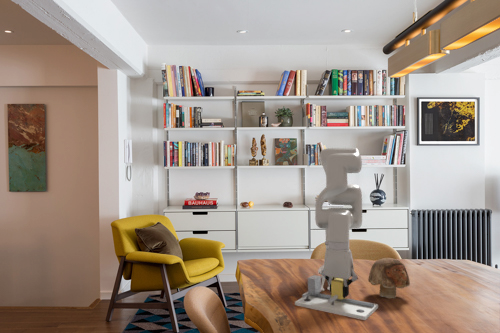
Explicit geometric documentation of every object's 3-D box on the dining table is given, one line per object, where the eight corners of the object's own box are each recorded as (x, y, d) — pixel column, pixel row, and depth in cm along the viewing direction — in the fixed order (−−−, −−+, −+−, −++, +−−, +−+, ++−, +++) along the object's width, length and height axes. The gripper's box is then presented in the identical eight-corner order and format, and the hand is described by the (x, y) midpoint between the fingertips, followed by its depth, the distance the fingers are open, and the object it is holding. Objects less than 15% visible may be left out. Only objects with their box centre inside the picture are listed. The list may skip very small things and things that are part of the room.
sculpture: (391, 306, 139) (390, 264, 139) (359, 294, 153) (359, 256, 153) (419, 299, 146) (419, 260, 146) (387, 288, 160) (387, 252, 160)
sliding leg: (336, 297, 146) (336, 277, 146) (347, 299, 143) (346, 279, 143) (324, 305, 136) (323, 285, 136) (334, 308, 134) (334, 287, 134)
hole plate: (311, 294, 153) (311, 291, 153) (378, 307, 138) (378, 304, 138) (295, 305, 142) (294, 301, 142) (365, 320, 127) (365, 316, 127)
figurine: (331, 287, 163) (330, 258, 163) (336, 290, 159) (336, 261, 159) (315, 289, 160) (315, 260, 160) (320, 292, 156) (320, 262, 156)
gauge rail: (311, 293, 152) (311, 274, 152) (375, 305, 137) (375, 284, 137) (297, 301, 142) (297, 281, 142) (364, 315, 128) (364, 293, 128)
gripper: (313, 245, 144) (314, 294, 144) (357, 249, 135) (358, 302, 135) (321, 241, 151) (322, 289, 150) (364, 246, 141) (365, 296, 141)
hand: (339, 295), depth 143 cm, fingers closed on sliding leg, 4 cm apart
